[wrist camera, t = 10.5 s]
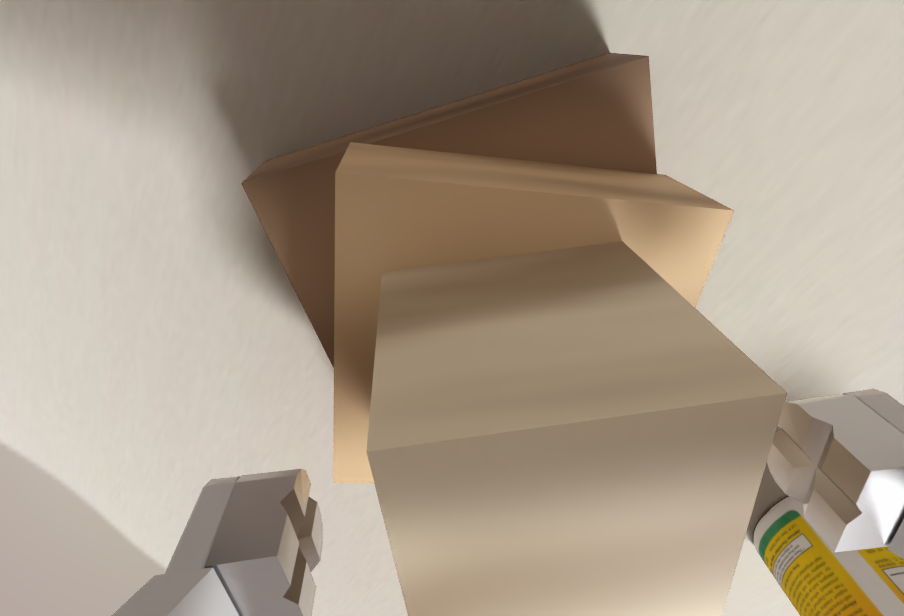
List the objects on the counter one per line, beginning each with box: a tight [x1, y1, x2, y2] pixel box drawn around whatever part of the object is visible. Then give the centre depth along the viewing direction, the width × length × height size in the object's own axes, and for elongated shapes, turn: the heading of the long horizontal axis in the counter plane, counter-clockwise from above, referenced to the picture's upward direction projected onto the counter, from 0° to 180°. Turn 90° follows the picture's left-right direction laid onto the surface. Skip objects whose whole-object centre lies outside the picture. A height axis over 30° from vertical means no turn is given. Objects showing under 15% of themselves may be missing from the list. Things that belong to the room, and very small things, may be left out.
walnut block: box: [241, 53, 657, 367], centre depth 15 cm, size 10×10×3 cm
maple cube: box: [366, 241, 787, 616], centre depth 9 cm, size 5×5×5 cm
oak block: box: [333, 142, 734, 483], centre depth 13 cm, size 8×8×3 cm
